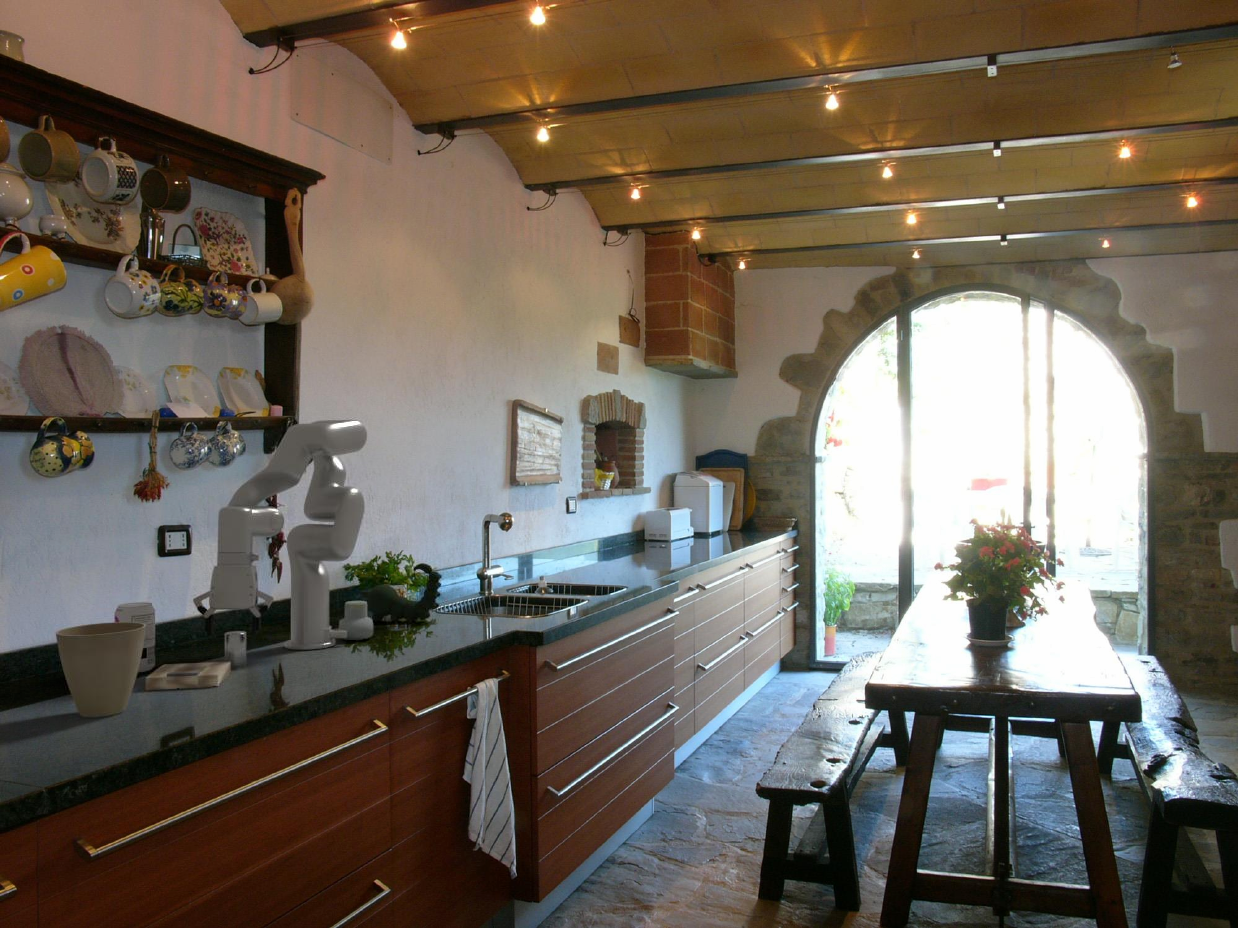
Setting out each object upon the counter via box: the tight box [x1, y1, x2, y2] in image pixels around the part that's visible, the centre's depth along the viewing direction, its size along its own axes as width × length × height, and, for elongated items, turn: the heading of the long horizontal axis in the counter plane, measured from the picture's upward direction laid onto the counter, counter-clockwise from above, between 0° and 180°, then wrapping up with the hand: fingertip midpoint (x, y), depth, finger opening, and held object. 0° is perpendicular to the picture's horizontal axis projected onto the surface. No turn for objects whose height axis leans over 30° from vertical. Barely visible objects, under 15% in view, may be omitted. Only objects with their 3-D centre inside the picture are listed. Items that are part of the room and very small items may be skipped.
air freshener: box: [338, 600, 374, 641], centre depth 254 cm, size 11×8×10 cm
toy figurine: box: [358, 562, 442, 624], centre depth 283 cm, size 9×19×25 cm
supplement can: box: [114, 601, 156, 674], centre depth 215 cm, size 8×8×15 cm
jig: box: [145, 661, 232, 691], centre depth 203 cm, size 14×14×3 cm
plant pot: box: [55, 621, 146, 718], centre depth 177 cm, size 15×15×16 cm
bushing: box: [224, 630, 247, 670], centre depth 217 cm, size 5×5×8 cm
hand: (232, 634), depth 216 cm, fingers open, 9 cm apart
